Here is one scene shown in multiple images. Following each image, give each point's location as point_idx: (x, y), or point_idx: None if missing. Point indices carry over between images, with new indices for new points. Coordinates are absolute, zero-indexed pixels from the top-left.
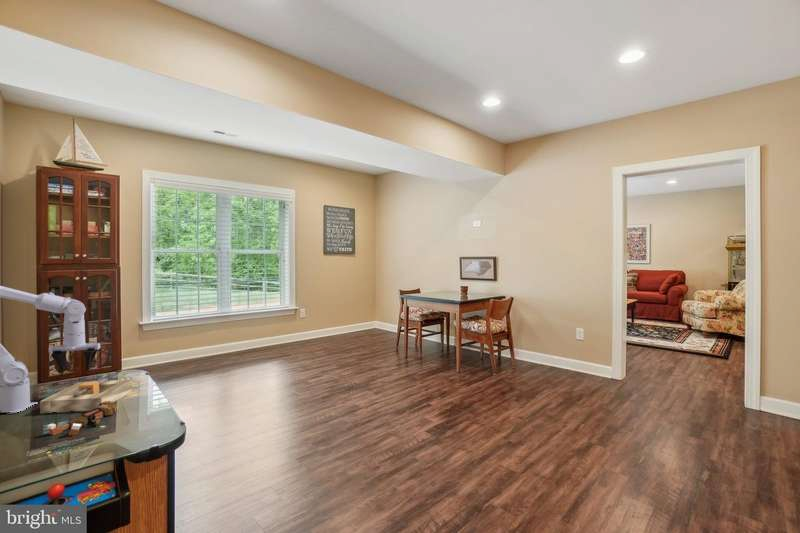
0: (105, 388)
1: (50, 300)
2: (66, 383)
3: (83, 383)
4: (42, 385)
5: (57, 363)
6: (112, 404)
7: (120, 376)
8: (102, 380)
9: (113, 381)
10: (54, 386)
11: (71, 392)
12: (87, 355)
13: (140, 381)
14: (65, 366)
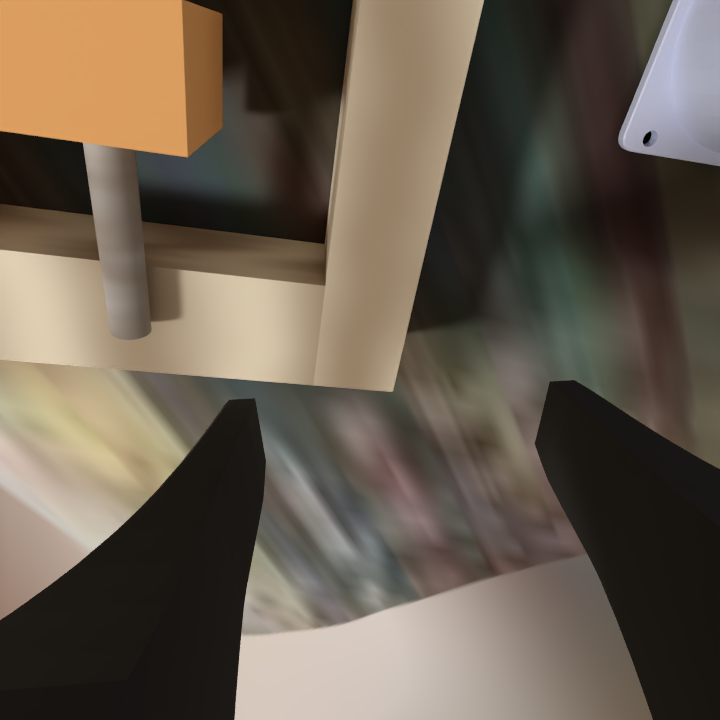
0: (79, 239)
1: None
2: (542, 523)
3: (175, 115)
4: None
5: (695, 460)
6: None
7: (267, 574)
8: (111, 318)
9: (36, 334)
10: None
11: (343, 127)
12: (102, 606)
13: (44, 475)
14: (557, 486)
